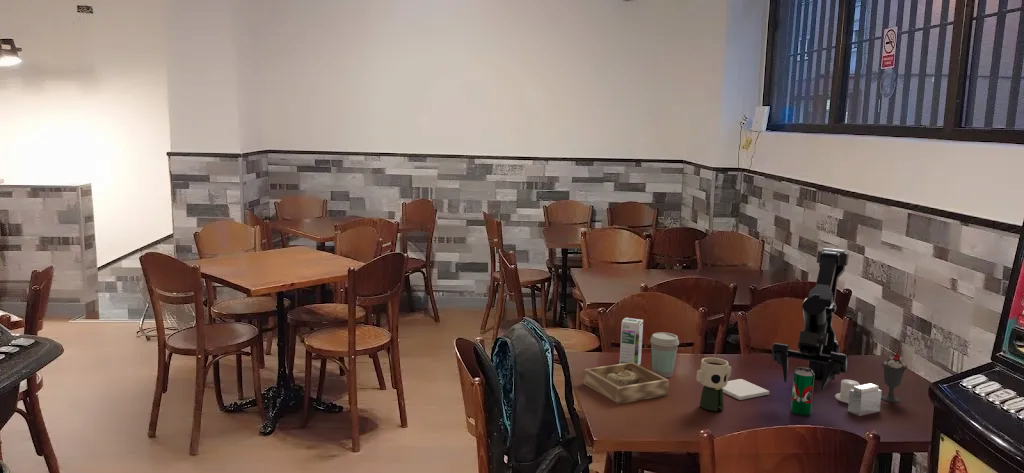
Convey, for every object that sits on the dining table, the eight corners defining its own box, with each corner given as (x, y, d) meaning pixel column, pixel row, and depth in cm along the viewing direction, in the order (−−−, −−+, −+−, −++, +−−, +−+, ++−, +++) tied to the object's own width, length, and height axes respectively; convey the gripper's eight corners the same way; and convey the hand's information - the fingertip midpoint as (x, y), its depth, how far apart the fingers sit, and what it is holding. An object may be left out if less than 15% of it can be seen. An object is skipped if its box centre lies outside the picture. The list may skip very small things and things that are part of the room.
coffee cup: (677, 380, 223) (679, 341, 221) (647, 377, 225) (650, 338, 223) (676, 371, 231) (679, 333, 230) (648, 368, 233) (650, 330, 231)
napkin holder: (867, 407, 207) (870, 382, 206) (879, 411, 204) (882, 386, 202) (847, 411, 203) (850, 386, 202) (859, 416, 200) (862, 390, 199)
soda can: (812, 412, 202) (816, 368, 200) (808, 418, 197) (812, 373, 196) (792, 407, 204) (796, 365, 202) (788, 413, 200) (792, 370, 198)
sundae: (893, 405, 208) (899, 352, 206) (872, 397, 214) (877, 345, 212) (909, 401, 211) (915, 349, 209) (887, 393, 217) (893, 343, 215)
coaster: (741, 382, 223) (741, 378, 223) (769, 394, 214) (769, 391, 214) (712, 387, 218) (712, 383, 218) (739, 400, 209) (740, 396, 209)
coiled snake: (646, 388, 216) (648, 370, 215) (626, 397, 209) (628, 379, 207) (617, 376, 222) (619, 359, 221) (597, 385, 215) (599, 367, 214)
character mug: (703, 415, 197) (706, 367, 195) (686, 406, 203) (689, 359, 201) (736, 410, 201) (740, 363, 199) (719, 401, 208) (723, 355, 206)
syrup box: (618, 366, 234) (621, 320, 232) (623, 361, 240) (625, 316, 238) (636, 369, 232) (639, 323, 230) (641, 363, 238) (643, 318, 235)
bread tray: (631, 375, 226) (632, 361, 225) (668, 394, 211) (669, 380, 210) (583, 383, 218) (584, 369, 218) (617, 403, 203) (618, 388, 203)
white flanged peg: (846, 393, 217) (848, 376, 216) (867, 401, 211) (869, 384, 210) (829, 397, 214) (831, 380, 213) (850, 405, 208) (852, 388, 207)
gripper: (775, 313, 206) (763, 363, 198) (850, 324, 197) (840, 377, 189) (779, 335, 214) (767, 383, 206) (850, 346, 205) (841, 397, 197)
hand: (803, 385), depth 199 cm, fingers open, 9 cm apart
